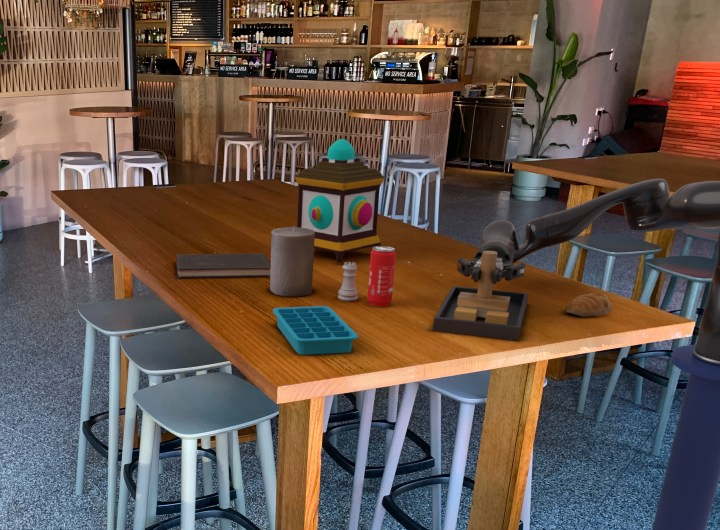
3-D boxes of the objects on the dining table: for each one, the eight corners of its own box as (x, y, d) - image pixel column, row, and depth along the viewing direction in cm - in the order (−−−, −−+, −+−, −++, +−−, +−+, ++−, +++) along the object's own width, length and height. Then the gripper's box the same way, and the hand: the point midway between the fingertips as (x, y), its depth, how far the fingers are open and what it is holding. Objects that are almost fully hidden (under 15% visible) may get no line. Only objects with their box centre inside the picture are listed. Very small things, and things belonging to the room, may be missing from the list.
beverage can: (380, 308, 167) (385, 252, 162) (361, 303, 171) (366, 248, 166) (396, 304, 170) (401, 249, 165) (377, 299, 174) (381, 244, 169)
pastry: (585, 320, 159) (588, 302, 157) (555, 312, 164) (558, 294, 163) (613, 313, 163) (616, 295, 162) (584, 305, 169) (587, 288, 167)
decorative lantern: (283, 253, 215) (286, 138, 204) (330, 243, 227) (336, 134, 216) (340, 266, 201) (347, 144, 190) (387, 255, 213) (397, 139, 202)
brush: (458, 309, 163) (465, 248, 158) (507, 315, 159) (516, 252, 154) (455, 314, 159) (463, 252, 155) (506, 320, 156) (515, 256, 151)
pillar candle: (319, 289, 181) (323, 224, 175) (299, 299, 174) (302, 231, 168) (282, 283, 186) (284, 219, 180) (261, 292, 179) (263, 226, 173)
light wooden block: (455, 316, 160) (456, 306, 159) (476, 318, 158) (477, 309, 157) (453, 320, 157) (454, 310, 156) (474, 322, 156) (475, 313, 155)
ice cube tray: (295, 356, 140) (296, 340, 138) (270, 322, 158) (271, 308, 157) (359, 353, 141) (360, 337, 140) (327, 320, 160) (328, 305, 158)
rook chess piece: (362, 300, 173) (364, 264, 170) (346, 302, 171) (348, 266, 168) (349, 295, 177) (351, 260, 174) (333, 298, 174) (335, 262, 171)
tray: (451, 297, 175) (452, 285, 174) (526, 305, 169) (528, 293, 168) (432, 330, 153) (434, 317, 152) (518, 341, 147) (520, 327, 146)
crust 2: (486, 319, 158) (487, 310, 157) (507, 322, 156) (509, 312, 155) (484, 324, 155) (486, 314, 154) (506, 326, 153) (507, 316, 153)
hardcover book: (272, 276, 192) (272, 267, 191) (177, 278, 191) (177, 268, 190) (264, 261, 207) (264, 252, 206) (176, 262, 206) (176, 254, 205)
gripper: (526, 279, 167) (520, 300, 152) (458, 272, 172) (446, 292, 158) (532, 244, 164) (526, 262, 150) (462, 238, 169) (450, 255, 155)
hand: (485, 277), depth 154 cm, fingers closed on brush, 3 cm apart
